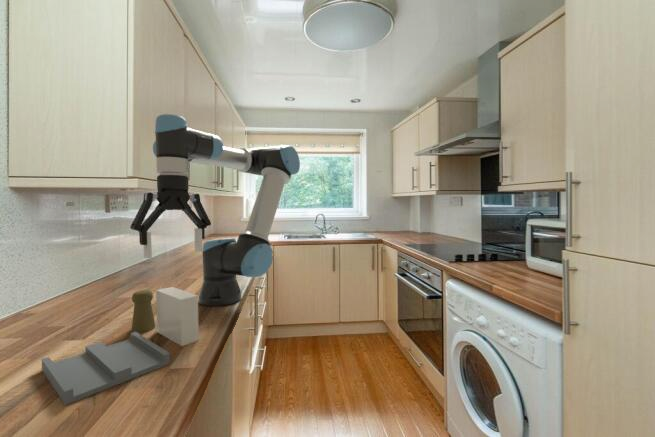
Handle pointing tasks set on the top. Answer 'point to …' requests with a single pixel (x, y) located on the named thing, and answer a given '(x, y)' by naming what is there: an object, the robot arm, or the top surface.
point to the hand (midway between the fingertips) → (174, 254)
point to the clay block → (177, 315)
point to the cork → (142, 311)
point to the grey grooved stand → (103, 367)
